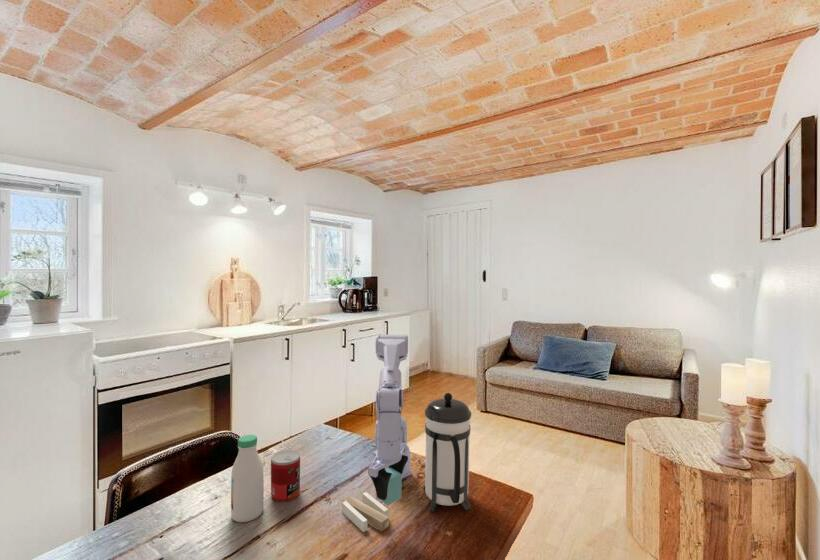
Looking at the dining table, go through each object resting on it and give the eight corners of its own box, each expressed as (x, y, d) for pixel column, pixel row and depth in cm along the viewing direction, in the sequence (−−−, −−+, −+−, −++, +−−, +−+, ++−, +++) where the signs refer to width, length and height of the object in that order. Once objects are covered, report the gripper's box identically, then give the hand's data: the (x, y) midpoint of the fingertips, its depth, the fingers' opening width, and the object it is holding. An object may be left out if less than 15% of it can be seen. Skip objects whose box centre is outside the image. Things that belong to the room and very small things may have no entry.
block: (390, 490, 97) (390, 467, 97) (401, 498, 94) (401, 474, 93) (376, 497, 94) (376, 472, 94) (387, 505, 91) (387, 480, 90)
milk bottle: (269, 508, 102) (269, 434, 101) (248, 526, 94) (248, 446, 94) (246, 501, 104) (246, 429, 104) (224, 519, 97) (224, 441, 96)
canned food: (291, 504, 103) (291, 464, 103) (265, 500, 105) (265, 461, 105) (304, 488, 111) (305, 451, 111) (279, 485, 112) (280, 448, 112)
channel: (366, 500, 105) (366, 491, 105) (388, 519, 98) (388, 509, 98) (341, 511, 100) (342, 502, 100) (363, 532, 93) (363, 522, 93)
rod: (350, 505, 104) (350, 495, 104) (388, 527, 95) (388, 517, 95) (343, 509, 102) (343, 500, 102) (381, 532, 93) (381, 522, 93)
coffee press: (405, 501, 105) (407, 393, 104) (441, 478, 117) (443, 381, 116) (457, 531, 93) (459, 410, 93) (491, 502, 105) (493, 395, 104)
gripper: (390, 423, 102) (390, 473, 102) (358, 445, 89) (357, 502, 89) (414, 428, 98) (413, 480, 99) (383, 452, 85) (383, 512, 86)
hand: (388, 491), depth 94 cm, fingers closed on block, 6 cm apart
